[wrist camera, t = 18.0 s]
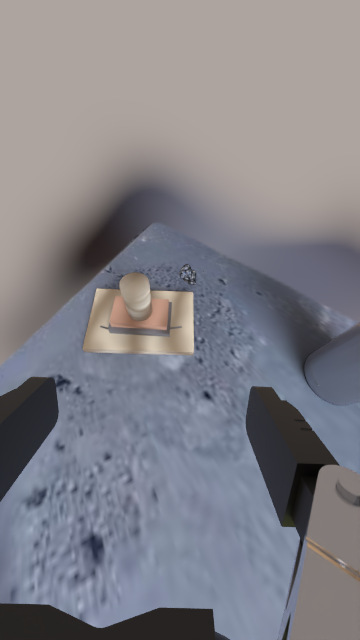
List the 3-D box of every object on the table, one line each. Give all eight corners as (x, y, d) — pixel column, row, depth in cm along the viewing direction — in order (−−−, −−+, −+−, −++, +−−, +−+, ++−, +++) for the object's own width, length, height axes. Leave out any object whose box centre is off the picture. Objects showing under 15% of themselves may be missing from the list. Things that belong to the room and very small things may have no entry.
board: (192, 296, 45) (192, 291, 43) (193, 355, 39) (193, 351, 37) (98, 293, 44) (96, 288, 43) (85, 352, 38) (82, 348, 37)
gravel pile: (197, 260, 50) (198, 253, 49) (214, 285, 46) (215, 279, 45) (168, 269, 49) (168, 262, 47) (184, 296, 45) (184, 289, 43)
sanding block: (171, 306, 41) (172, 269, 33) (169, 336, 39) (169, 304, 30) (116, 303, 41) (102, 264, 33) (109, 333, 38) (92, 299, 30)
